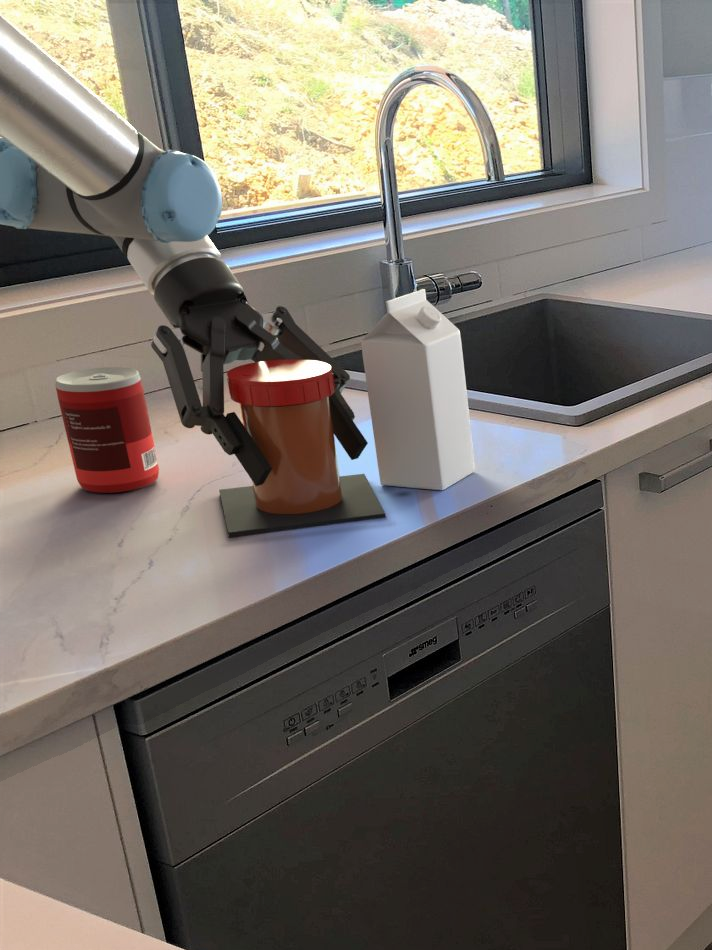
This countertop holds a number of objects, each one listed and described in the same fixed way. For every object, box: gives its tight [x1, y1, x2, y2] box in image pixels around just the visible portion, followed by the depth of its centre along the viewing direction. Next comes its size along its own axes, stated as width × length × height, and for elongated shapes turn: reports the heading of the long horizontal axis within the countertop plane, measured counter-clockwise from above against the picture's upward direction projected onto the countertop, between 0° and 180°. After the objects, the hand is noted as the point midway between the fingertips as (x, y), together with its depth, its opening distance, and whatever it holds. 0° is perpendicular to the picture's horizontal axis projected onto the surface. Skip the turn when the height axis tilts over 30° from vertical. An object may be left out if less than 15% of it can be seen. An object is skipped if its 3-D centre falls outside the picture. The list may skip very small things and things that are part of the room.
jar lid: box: [226, 359, 335, 406], centre depth 132 cm, size 9×9×2 cm
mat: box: [218, 473, 387, 538], centre depth 137 cm, size 14×14×1 cm
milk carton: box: [360, 288, 476, 491], centre depth 141 cm, size 7×7×19 cm
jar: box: [238, 397, 343, 514], centre depth 134 cm, size 8×8×12 cm
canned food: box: [54, 366, 160, 494], centre depth 140 cm, size 8×8×11 cm
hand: (313, 464), depth 133 cm, fingers open, 10 cm apart
